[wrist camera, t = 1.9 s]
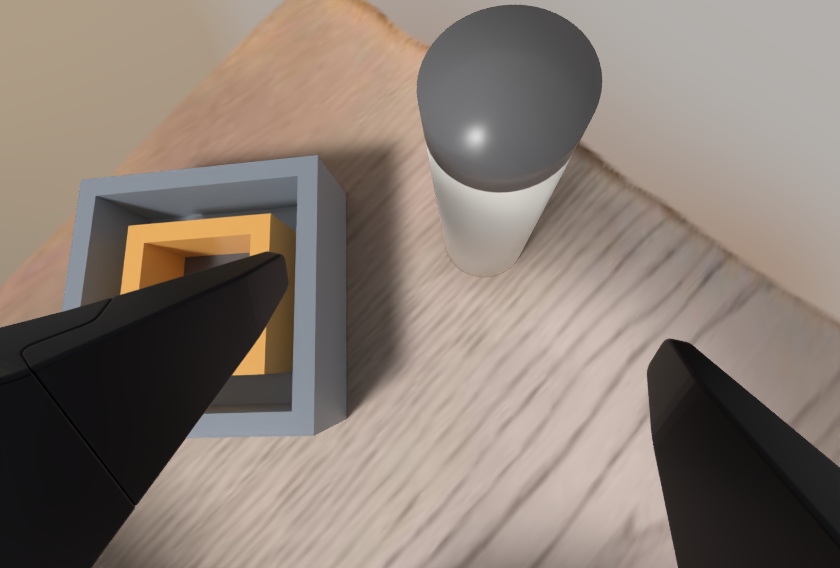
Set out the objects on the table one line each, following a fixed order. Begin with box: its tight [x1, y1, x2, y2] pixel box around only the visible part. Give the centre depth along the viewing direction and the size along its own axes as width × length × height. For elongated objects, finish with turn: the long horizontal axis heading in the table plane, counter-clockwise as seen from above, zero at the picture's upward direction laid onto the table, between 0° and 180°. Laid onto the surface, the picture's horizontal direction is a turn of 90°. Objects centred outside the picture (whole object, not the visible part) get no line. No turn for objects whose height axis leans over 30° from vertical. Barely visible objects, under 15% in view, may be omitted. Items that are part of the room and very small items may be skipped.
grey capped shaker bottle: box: [417, 5, 602, 277], centre depth 15 cm, size 4×4×12 cm
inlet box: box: [62, 155, 347, 438], centre depth 20 cm, size 13×13×4 cm
